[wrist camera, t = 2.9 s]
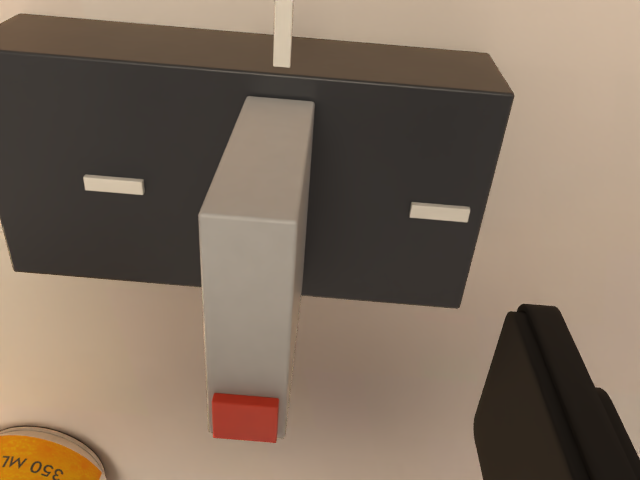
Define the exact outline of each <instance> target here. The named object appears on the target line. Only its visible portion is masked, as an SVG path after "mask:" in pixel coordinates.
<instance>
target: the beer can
mask: <svg viewBox="0 0 640 480" xmlns="http://www.w3.org/2000/svg"><path fill="white" fill-rule="evenodd" d="M0 480H107V479H106V477H105V472H104V468H103V465H102V463H101V461H100V460H99V458H98V457H97V456H96V455H95V453H94V452H93V451H91V450H90V449H89V448H88V447H87V446H85V445H84V444H83V443H81V442H79V441H78V440H76V439H74V438H72V437H70V436H68V435H66V434H63V433H60V432H57V431H54V430H50V429H45V428H39V427H15V428H9V429H6V430H3V431H1V432H0Z"/></svg>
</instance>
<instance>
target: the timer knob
mask: <svg viewBox="0 0 640 480" xmlns="http://www.w3.org/2000/svg"><path fill="white" fill-rule="evenodd" d="M314 111H315V103H314V102H312V101H301V100H289V99H277V98H266V97H254V96H248V97H246V100H245V102H244V105H243V107H242V109H241V112H240V114H239V117H238V119H237V122H236V124H235V127H234V129H233V131H232V134H231V136H230V139H229V141H228V144H227V146H226V149H225V151H224V153H223V156H222V158H221V161H220V163H219V166H218V168H217V170H216V173H215V175H214V178H213V180H212V183H211V185H210V188H209V190H208V192H207V195H206V197H205V200H204V202H203V205H202V207H201V210H200V212H199V214H198V222H199V243H200V264H201V286H202V307H203V328H204V349H205V370H206V392H207V413H208V430H209V432H210V433H213V437H214V438H223V439H235V440H247V441H259V442H271V443H276V441H277V439H283V438H284V437H285V434H286V426H287V417H288V408H289V399H290V390H291V381H292V372H293V363H294V354H295V345H296V337H297V328H298V319H299V310H300V301H301V292H302V283H303V269H304V255H305V241H306V226H307V212H308V197H309V183H310V169H311V154H312V140H313V126H314Z"/></svg>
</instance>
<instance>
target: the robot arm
mask: <svg viewBox="0 0 640 480" xmlns="http://www.w3.org/2000/svg"><path fill="white" fill-rule="evenodd" d="M474 439H475V444H476V448H477V453H478V457H479V462H480V467H481V471H482V476H483V480H640V459H639V457H638V455H637V453H636V451H635V449H634V446H633V444H632V442H631V440H630V438H629V436H628V434H627V432H626V430H625V428H624V426H623V423H622V421H621V419H620V417H619V415H618V413H617V411H616V409H615V407H614V405H613V403H612V400H611V399H610V397H609V396H608V394H607V393H606V392H605V391H604V390H603V389H601V388H596V387H595V386H594V384H593V382H592V380H591V378H590V375H589V373H588V371H587V369H586V367H585V365H584V362H583V360H582V358H581V356H580V354H579V352H578V349H577V347H576V345H575V343H574V341H573V338H572V336H571V334H570V332H569V330H568V328H567V325H566V323H565V321H564V319H563V317H562V314H561V312H560V311H559V309H558V308H557V307H555V306H544V305H531V304H522V305H520V306H519V308H518V310H517V312H512V311H511V312H508V314H507V315H506V318H505V321H504V324H503V327H502V331H501V334H500V337H499V340H498V343H497V347H496V350H495V353H494V356H493V359H492V363H491V366H490V369H489V372H488V375H487V379H486V382H485V385H484V388H483V391H482V395H481V398H480V401H479V404H478V407H477V411H476V414H475V418H474Z"/></svg>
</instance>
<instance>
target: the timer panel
mask: <svg viewBox="0 0 640 480" xmlns="http://www.w3.org/2000/svg"><path fill="white" fill-rule="evenodd" d="M293 2H294V0H275V13H274V35H266V34H254V33H243V32H231V31H219V30H207V29H195V28H184V27H172V26H160V25H148V24H136V23H125V22H113V21H101V20H89V19H77V18H66V17H54V16H42V15H30V14H18V15H16V16H14V17H12V18H10V19H8V20H6V21H5V22H3V23H1V24H0V220H1V224H2V228H3V232H4V236H5V240H6V243H7V247H8V251H9V255H10V259H11V263H12V266H13V270H14V271H16V272H27V273H39V274H51V275H63V276H75V277H87V278H99V279H111V280H123V281H135V282H146V283H158V284H170V285H182V286H194V287H202V286H201V264H200V243H199V222H198V214H199V212H200V210H201V207H202V205H203V202H204V200H205V197H206V195H207V192H208V190H209V188H210V185H211V183H212V180H213V178H214V175H215V173H216V170H217V168H218V166H219V163H220V161H221V158H222V156H223V153H224V151H225V149H226V146H227V144H228V141H229V139H230V136H231V134H232V131H233V129H234V127H235V124H236V122H237V119H238V117H239V114H240V112H241V109H242V107H243V105H244V102H245V100H246V97H248V96H254V97H266V98H277V99H289V100H301V101H312V102H314V103H315V111H314V126H313V140H312V154H311V169H310V183H309V197H308V212H307V226H306V241H305V255H304V269H303V283H302V292H301V296H313V297H325V298H337V299H349V300H361V301H373V302H385V303H397V304H409V305H421V306H433V307H444V308H456V309H458V308H459V307H460V304H461V301H462V297H463V293H464V289H465V285H466V281H467V277H468V273H469V270H470V266H471V262H472V258H473V254H474V250H475V246H476V242H477V239H478V235H479V231H480V227H481V223H482V219H483V215H484V211H485V208H486V204H487V200H488V196H489V192H490V188H491V184H492V180H493V177H494V173H495V169H496V165H497V161H498V157H499V153H500V149H501V146H502V142H503V138H504V134H505V130H506V126H507V122H508V118H509V115H510V111H511V107H512V103H513V99H514V93H513V92H512V90H511V88H510V87H509V85H508V84H507V82H506V81H505V79H504V77H503V76H502V74H501V73H500V71H499V69H498V68H497V66H496V65H495V63H494V62H493V60H492V58H491V57H490V55H489V54H488V53H479V52H467V51H455V50H443V49H431V48H420V47H408V46H396V45H384V44H372V43H361V42H349V41H337V40H325V39H313V38H302V37H292V24H293Z"/></svg>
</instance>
